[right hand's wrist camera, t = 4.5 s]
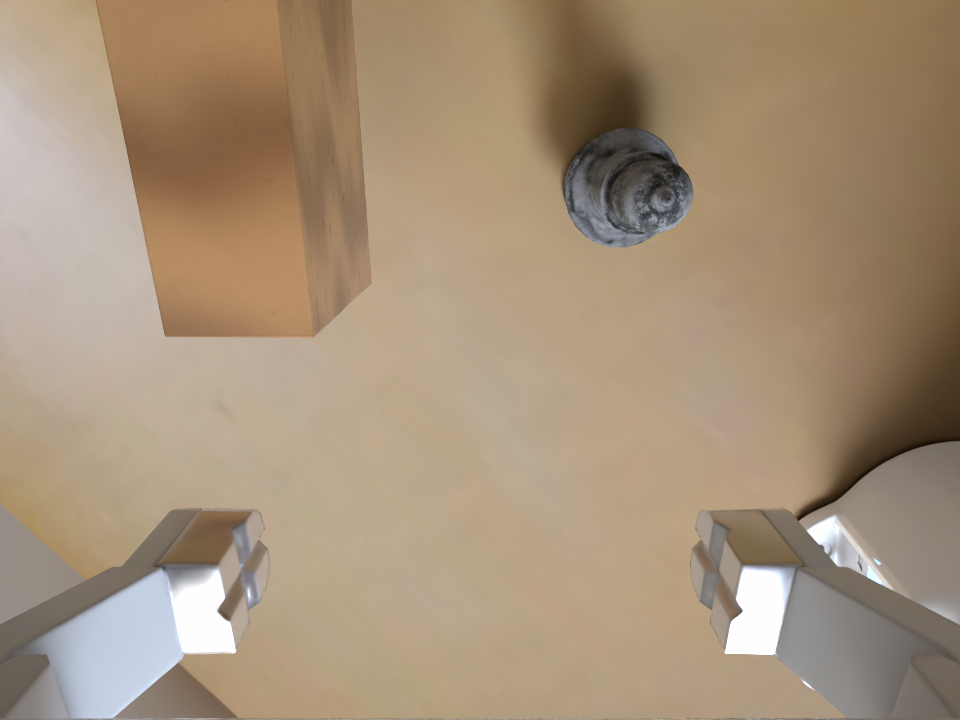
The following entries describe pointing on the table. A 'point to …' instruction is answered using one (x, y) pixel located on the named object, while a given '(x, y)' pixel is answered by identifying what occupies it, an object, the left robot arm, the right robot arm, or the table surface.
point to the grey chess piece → (626, 188)
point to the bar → (243, 159)
